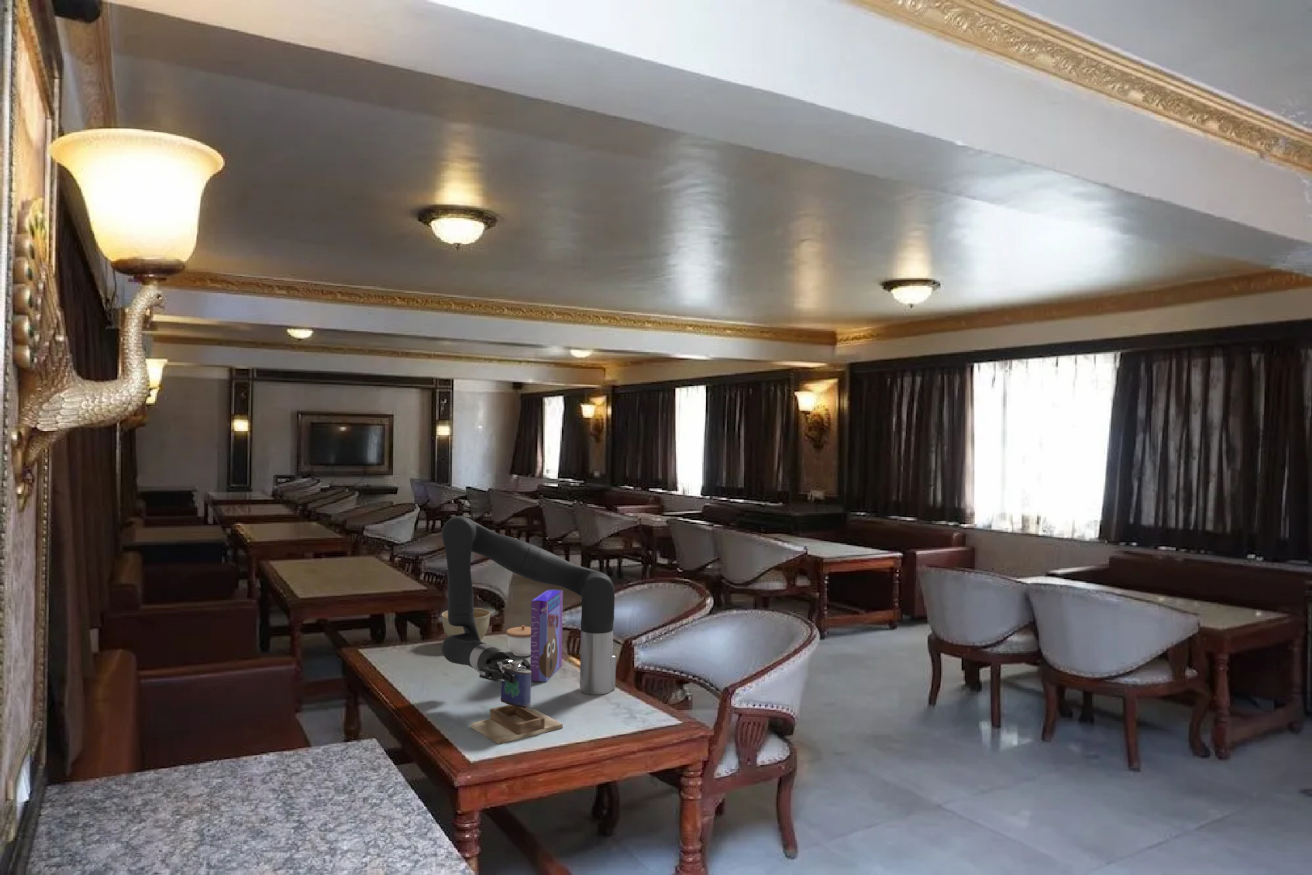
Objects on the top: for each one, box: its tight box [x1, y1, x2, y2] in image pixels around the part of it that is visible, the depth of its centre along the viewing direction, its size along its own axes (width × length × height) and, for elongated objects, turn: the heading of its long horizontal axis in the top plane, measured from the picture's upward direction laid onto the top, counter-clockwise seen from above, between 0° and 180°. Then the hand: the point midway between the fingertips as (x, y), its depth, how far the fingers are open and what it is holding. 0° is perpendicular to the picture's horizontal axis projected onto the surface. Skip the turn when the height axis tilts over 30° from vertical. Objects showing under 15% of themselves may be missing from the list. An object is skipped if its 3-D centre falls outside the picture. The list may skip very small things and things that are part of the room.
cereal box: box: [529, 588, 564, 683], centre depth 259 cm, size 17×5×24 cm, turn 171°
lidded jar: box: [506, 624, 531, 657], centre depth 281 cm, size 11×11×9 cm
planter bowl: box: [441, 607, 491, 642], centre depth 291 cm, size 16×16×11 cm
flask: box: [500, 660, 532, 709], centre depth 213 cm, size 9×3×11 cm, turn 57°
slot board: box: [470, 704, 563, 745], centre depth 213 cm, size 18×14×4 cm
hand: (522, 677), depth 211 cm, fingers open, 4 cm apart
